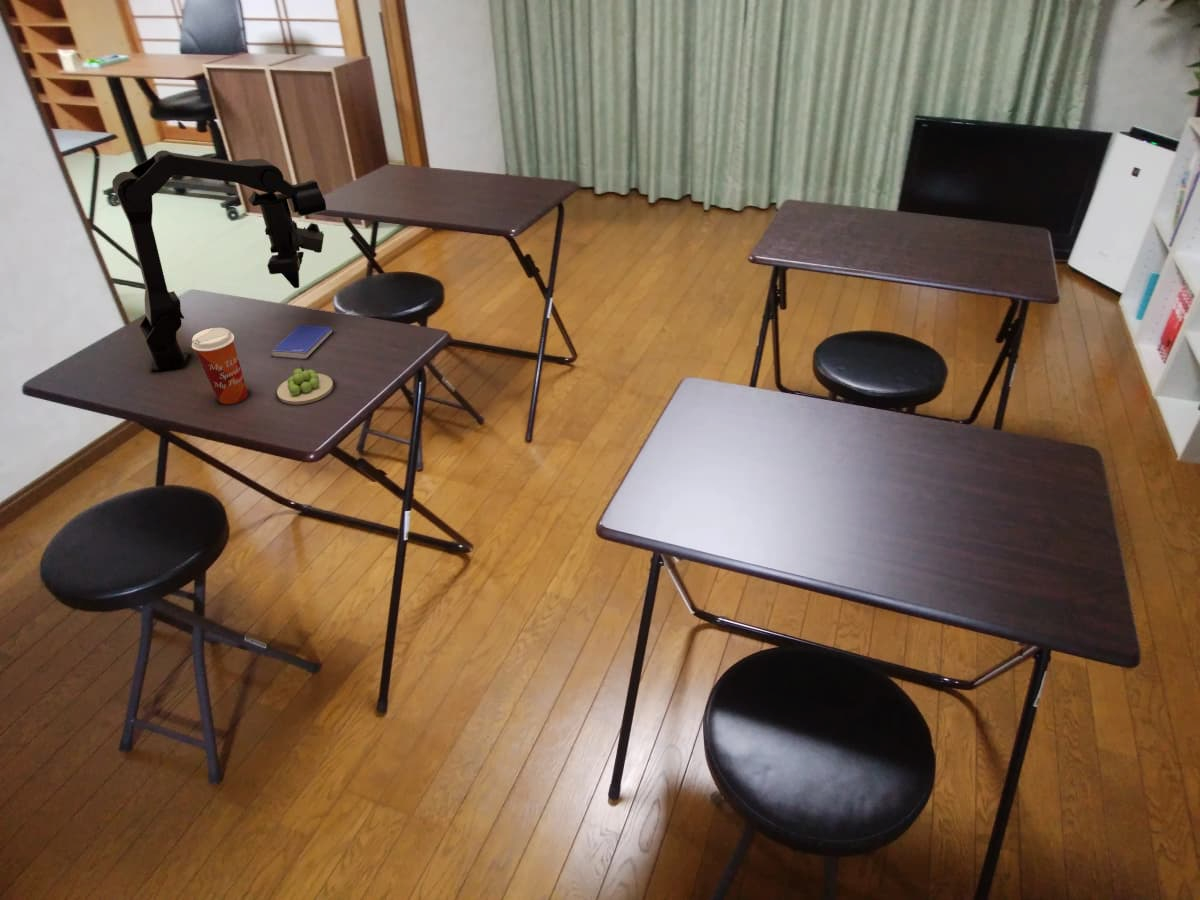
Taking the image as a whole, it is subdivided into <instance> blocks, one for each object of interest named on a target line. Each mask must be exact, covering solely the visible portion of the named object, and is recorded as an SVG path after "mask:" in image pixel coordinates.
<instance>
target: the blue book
mask: <svg viewBox="0 0 1200 900" xmlns="http://www.w3.org/2000/svg"><path fill="white" fill-rule="evenodd" d="M332 333H333V329H332V327H330V326H319V325H318V326H317V325H316V326H315V325H304V324H300V325H298V326H297V327H296V328H295V329H294V330H293V331H291V333H289V334H288V335H287V336H286V337H285V338H284V339H282V340H281V342H280V343H278V344H277V345H276V346H275V347H274V348H273V349H272V350H271V355H272V356H273V357H278V358H291V359H303V360H305V359H307V358H308V357H310V355H311V354H312V353H314V351H315V350H316V349H317V348H318V347H320V345H321V344H322V343H323V342H324V341H325V340H326V339H327V338H328V337H329V336H330V335H331V334H332Z"/></svg>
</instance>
